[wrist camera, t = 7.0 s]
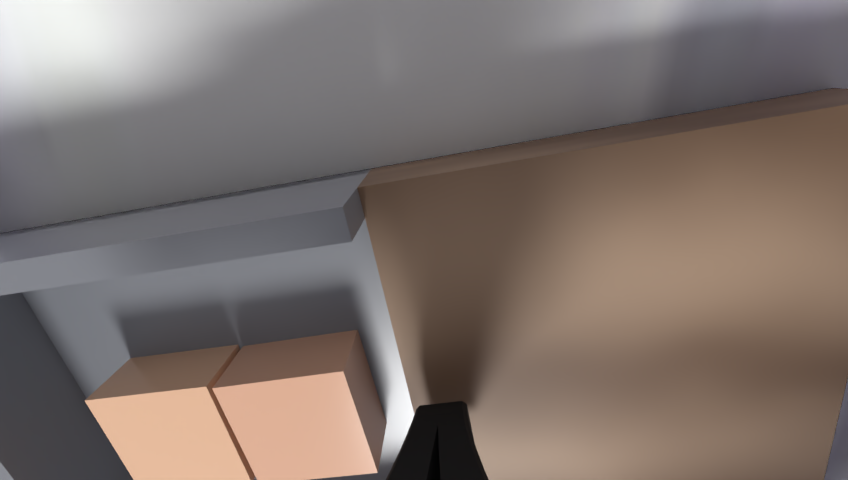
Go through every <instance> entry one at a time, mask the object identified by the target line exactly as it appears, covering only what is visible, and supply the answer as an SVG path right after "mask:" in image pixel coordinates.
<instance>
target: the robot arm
mask: <svg viewBox="0 0 848 480" xmlns="http://www.w3.org/2000/svg"><path fill="white" fill-rule="evenodd" d="M386 480H489V479H488V477H487V474H486V472H485V470H484V467H483V464H482V462H481V459H480V457H479V454H478V451H477V449H476V446H475V442H474V437H473V432H472V427H471V422H470V417H469V412H468V407H467V404H466V403H465V402H463V401H456V402H447V403H438V404H429V405H420V406H419V407H418V408H417V409H416V412H415V415H414V417H413V420H412V423H411V425H410V428H409V430H408V433H407V435H406V438H405V440H404V442H403V445H402V447H401V449H400V451H399V453H398V455H397V458H396V460H395V462H394V464H393V466H392V468H391V470H390V472H389V474H388V476H387V478H386Z"/></svg>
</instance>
